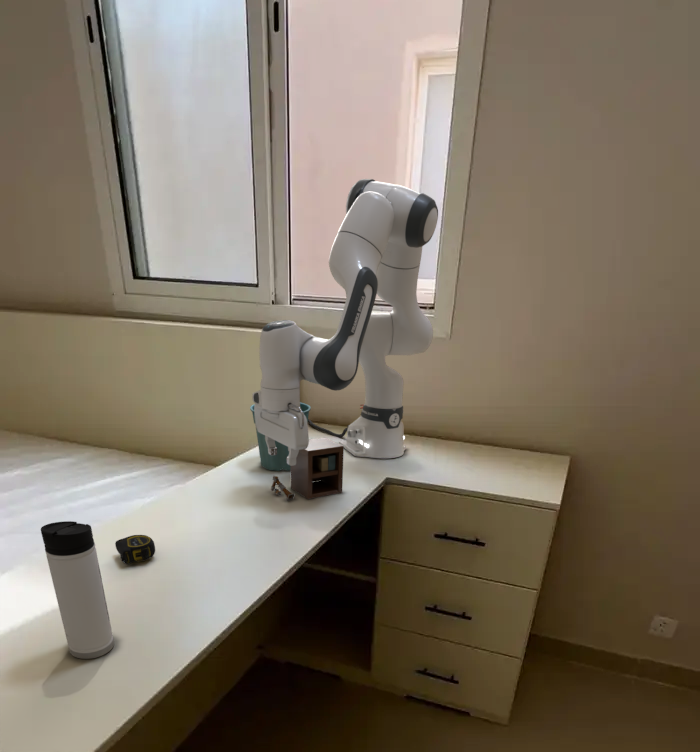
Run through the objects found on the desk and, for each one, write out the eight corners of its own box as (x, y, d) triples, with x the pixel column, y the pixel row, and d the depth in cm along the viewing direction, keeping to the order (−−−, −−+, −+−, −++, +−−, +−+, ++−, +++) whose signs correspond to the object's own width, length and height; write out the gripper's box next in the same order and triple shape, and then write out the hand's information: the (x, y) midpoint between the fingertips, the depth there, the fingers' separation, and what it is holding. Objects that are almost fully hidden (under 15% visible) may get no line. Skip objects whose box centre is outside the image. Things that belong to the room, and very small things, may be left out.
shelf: (290, 488, 155) (290, 441, 149) (324, 482, 160) (324, 437, 154) (308, 499, 148) (308, 450, 142) (342, 493, 153) (343, 445, 147)
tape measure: (116, 554, 118) (113, 536, 116) (152, 548, 121) (149, 531, 119) (122, 568, 113) (119, 550, 111) (159, 562, 116) (157, 544, 114)
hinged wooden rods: (272, 486, 152) (276, 472, 149) (290, 507, 150) (295, 493, 146) (266, 488, 151) (270, 474, 148) (285, 508, 149) (289, 494, 145)
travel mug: (58, 655, 88) (26, 528, 78) (90, 632, 94) (64, 511, 84) (92, 665, 87) (64, 537, 77) (123, 641, 92) (100, 519, 82)
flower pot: (259, 476, 162) (256, 415, 154) (247, 458, 176) (244, 401, 167) (317, 472, 167) (318, 412, 159) (302, 455, 180) (302, 399, 172)
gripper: (315, 407, 131) (315, 469, 138) (272, 391, 146) (274, 448, 153) (290, 409, 128) (291, 473, 135) (248, 392, 143) (251, 451, 150)
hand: (281, 459), depth 144 cm, fingers open, 8 cm apart
